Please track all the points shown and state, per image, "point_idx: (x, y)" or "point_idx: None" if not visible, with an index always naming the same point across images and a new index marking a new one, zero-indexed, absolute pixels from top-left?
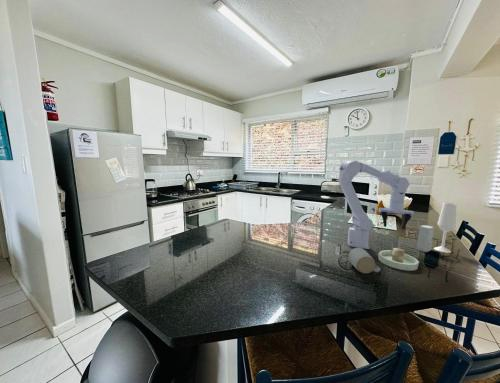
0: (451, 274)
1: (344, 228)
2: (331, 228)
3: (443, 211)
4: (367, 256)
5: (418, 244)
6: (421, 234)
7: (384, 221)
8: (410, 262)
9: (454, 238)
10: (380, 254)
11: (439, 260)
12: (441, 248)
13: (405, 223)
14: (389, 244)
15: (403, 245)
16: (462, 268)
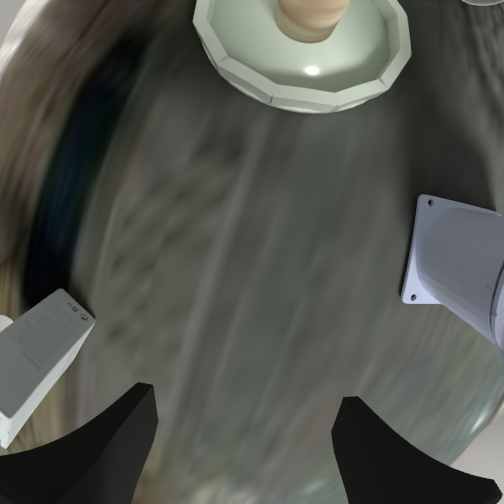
0: (84, 14)
1: None
2: (453, 445)
3: None
4: None
5: (76, 331)
6: (29, 365)
7: (400, 436)
8: (229, 21)
9: (6, 448)
10: (404, 26)
11: (40, 175)
12: None
13: (97, 426)
14: (241, 358)
15: (155, 367)
16: (5, 119)
